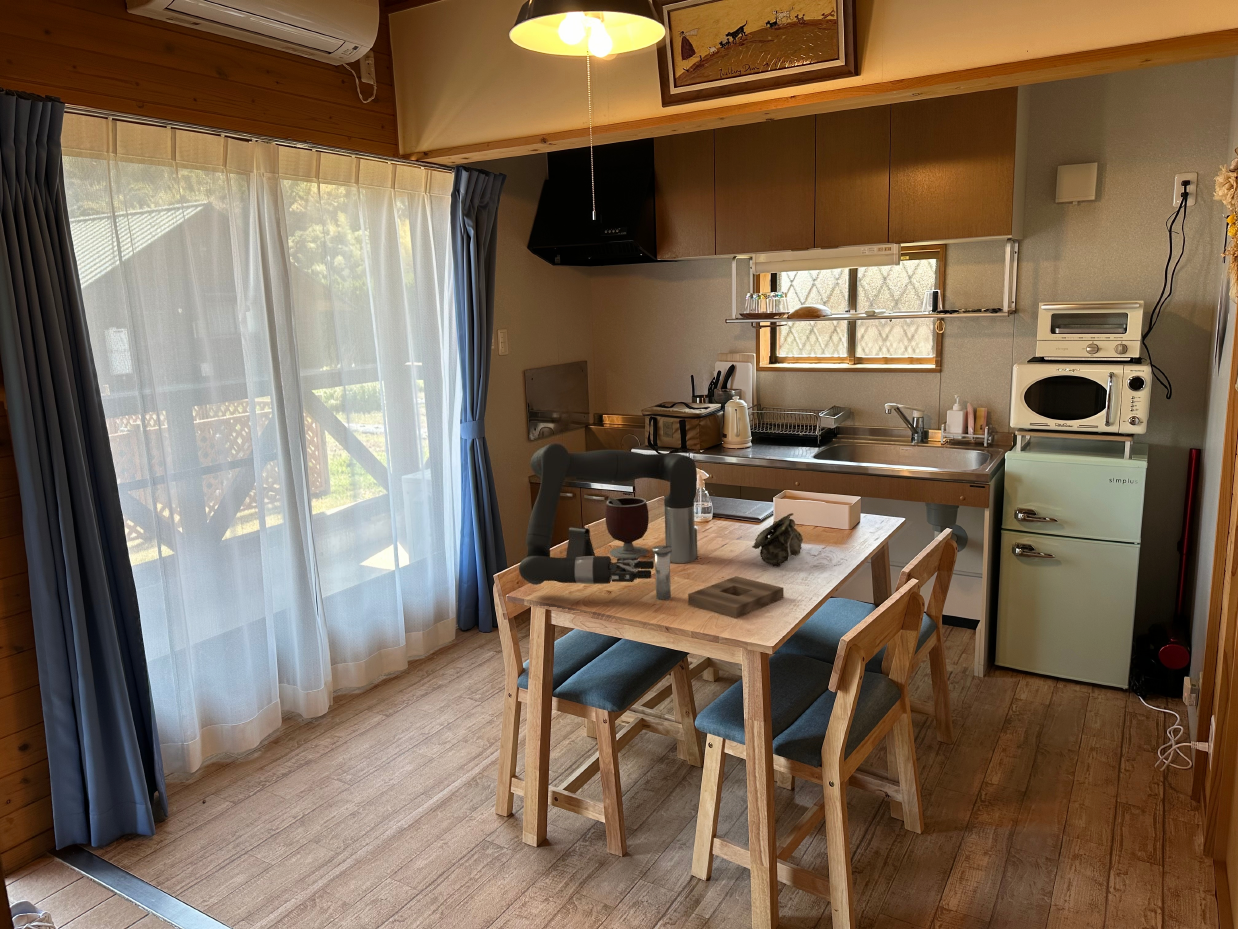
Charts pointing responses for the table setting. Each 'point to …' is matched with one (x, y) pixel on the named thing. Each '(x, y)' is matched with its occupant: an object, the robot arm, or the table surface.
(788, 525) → the camouflage backpack
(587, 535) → the phone stand
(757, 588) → the socket plate
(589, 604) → the table surface
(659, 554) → the steel pin
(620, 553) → the mate gourd
